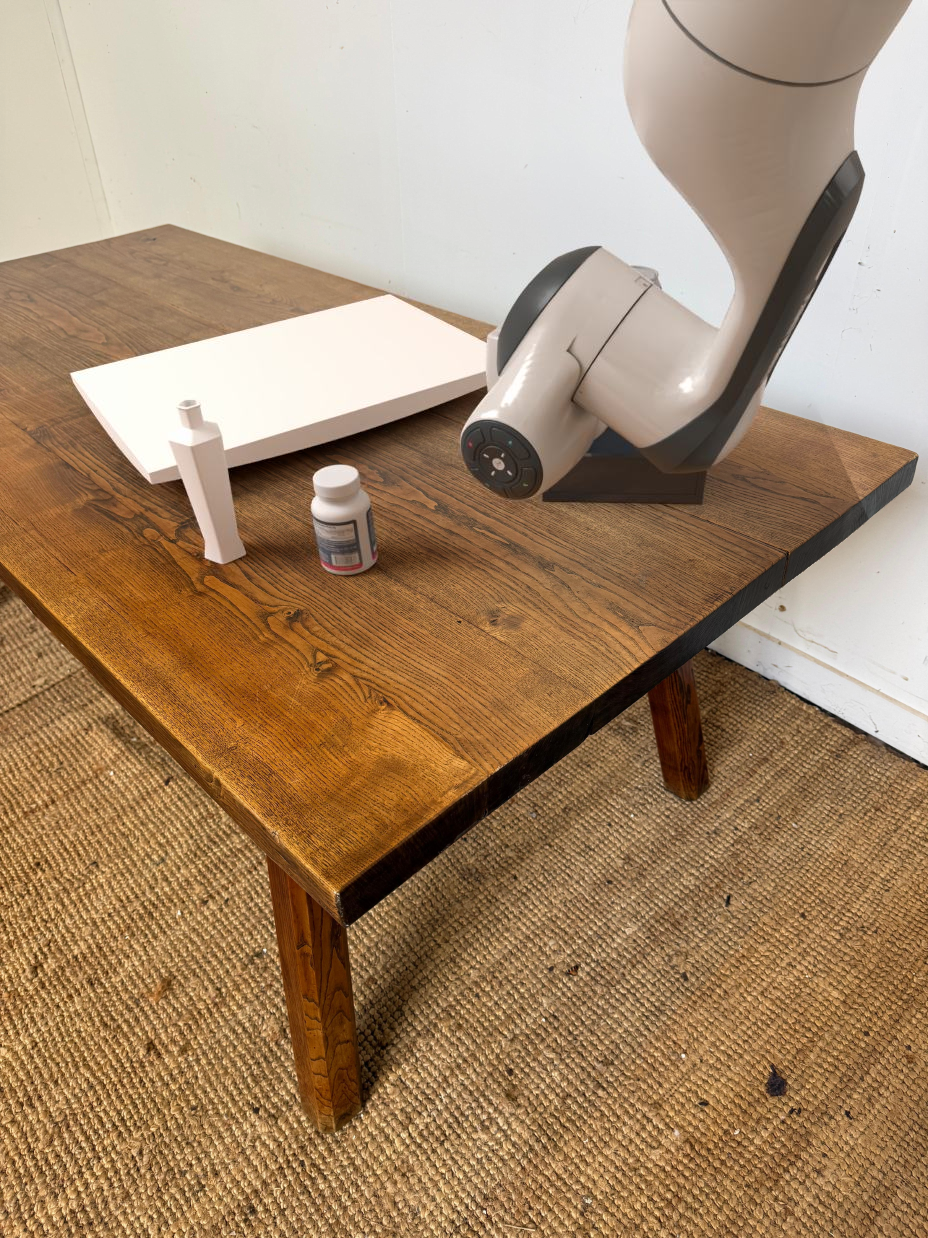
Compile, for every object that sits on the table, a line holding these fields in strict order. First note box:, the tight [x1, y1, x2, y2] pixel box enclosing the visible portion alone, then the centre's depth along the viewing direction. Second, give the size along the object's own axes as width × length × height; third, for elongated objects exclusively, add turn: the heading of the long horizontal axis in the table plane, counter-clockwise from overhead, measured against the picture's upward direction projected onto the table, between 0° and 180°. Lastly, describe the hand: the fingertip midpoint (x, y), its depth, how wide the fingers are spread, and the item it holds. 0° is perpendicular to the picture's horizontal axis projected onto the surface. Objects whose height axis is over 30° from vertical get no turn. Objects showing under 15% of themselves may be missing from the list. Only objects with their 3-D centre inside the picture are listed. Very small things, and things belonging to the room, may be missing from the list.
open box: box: [541, 427, 708, 505], centre depth 91 cm, size 16×16×5 cm
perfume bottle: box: [168, 398, 247, 565], centre depth 79 cm, size 5×4×15 cm
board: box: [69, 293, 487, 485], centre depth 108 cm, size 45×32×5 cm
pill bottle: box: [310, 464, 379, 576], centre depth 78 cm, size 5×5×9 cm
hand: (629, 328), depth 84 cm, fingers closed on beverage can, 5 cm apart
